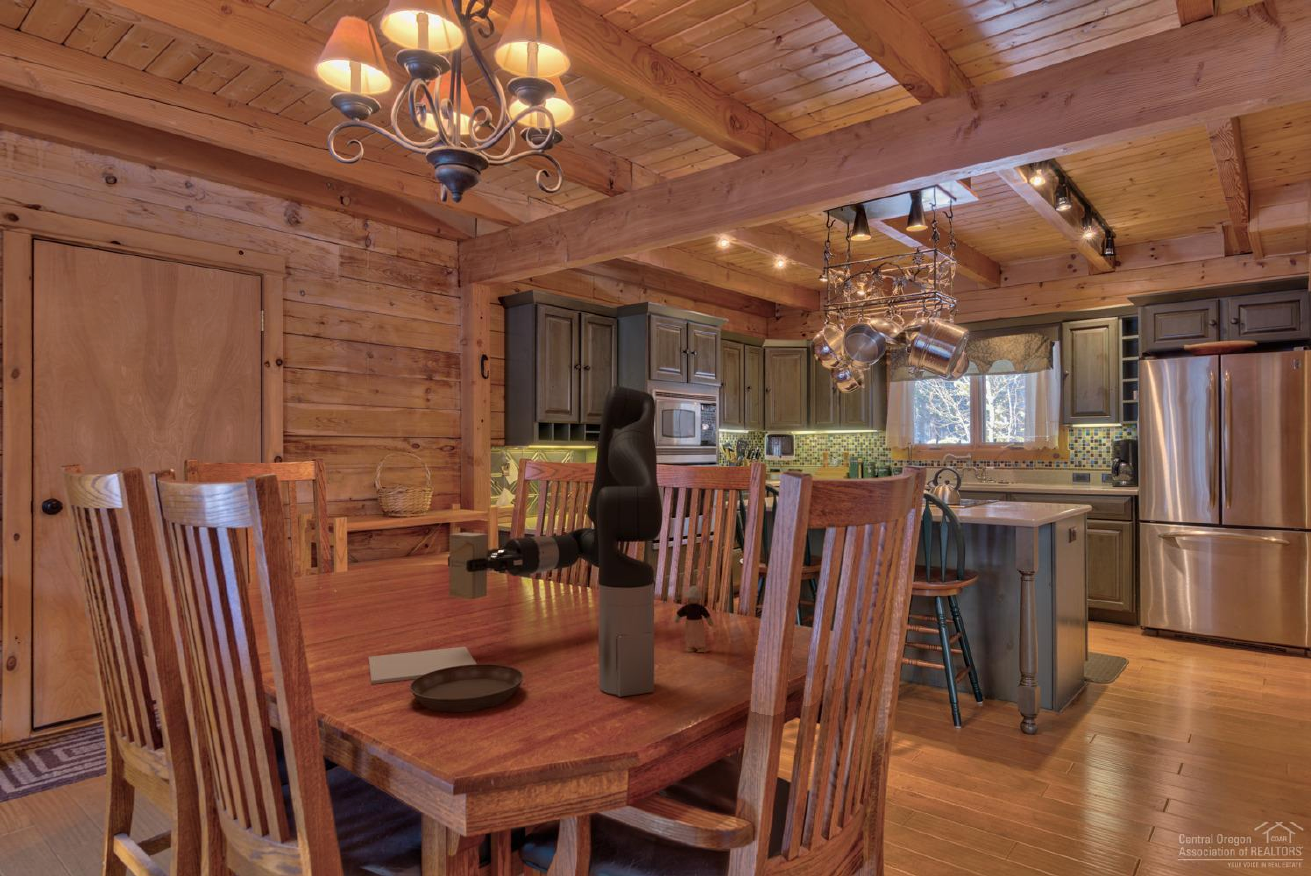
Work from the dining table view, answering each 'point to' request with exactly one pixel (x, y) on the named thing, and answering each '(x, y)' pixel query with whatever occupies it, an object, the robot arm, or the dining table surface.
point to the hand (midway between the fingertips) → (458, 563)
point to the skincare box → (459, 577)
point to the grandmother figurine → (694, 620)
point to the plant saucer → (466, 687)
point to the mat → (416, 664)
